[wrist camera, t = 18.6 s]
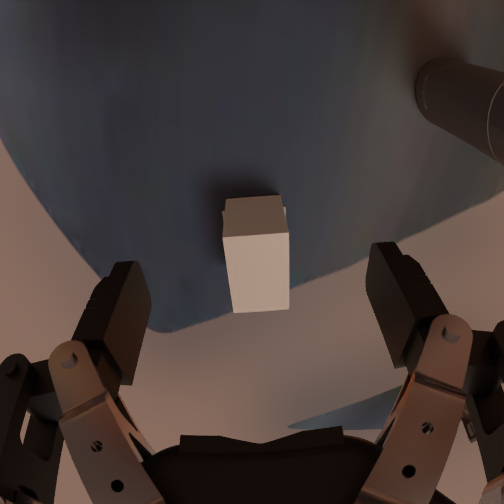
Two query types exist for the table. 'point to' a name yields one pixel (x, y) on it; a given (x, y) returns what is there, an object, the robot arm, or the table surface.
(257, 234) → the tan block
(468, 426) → the coffee box
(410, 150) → the table surface
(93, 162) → the table surface
